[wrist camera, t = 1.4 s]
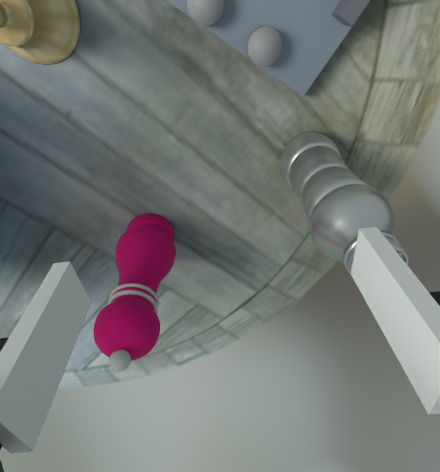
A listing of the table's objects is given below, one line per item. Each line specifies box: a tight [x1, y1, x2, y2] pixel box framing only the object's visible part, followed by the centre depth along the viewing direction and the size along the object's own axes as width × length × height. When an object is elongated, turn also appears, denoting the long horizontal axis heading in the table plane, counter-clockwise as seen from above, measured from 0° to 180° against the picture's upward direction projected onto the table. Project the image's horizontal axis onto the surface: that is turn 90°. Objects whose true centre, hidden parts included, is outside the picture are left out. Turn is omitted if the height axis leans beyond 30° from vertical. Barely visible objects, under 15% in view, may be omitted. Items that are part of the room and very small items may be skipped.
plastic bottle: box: [281, 132, 409, 273], centre depth 29 cm, size 6×7×20 cm
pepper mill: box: [94, 214, 176, 371], centre depth 34 cm, size 7×7×20 cm
